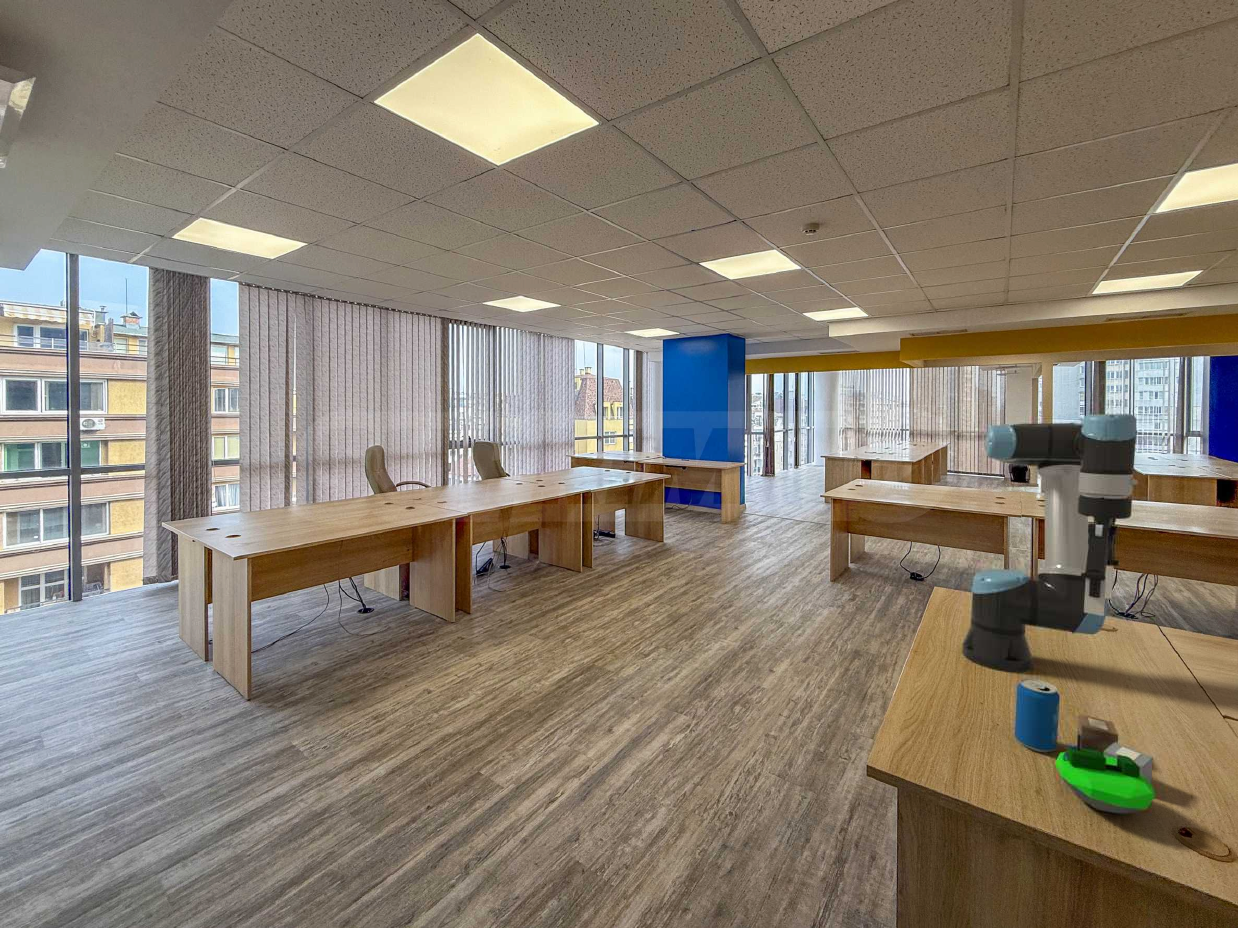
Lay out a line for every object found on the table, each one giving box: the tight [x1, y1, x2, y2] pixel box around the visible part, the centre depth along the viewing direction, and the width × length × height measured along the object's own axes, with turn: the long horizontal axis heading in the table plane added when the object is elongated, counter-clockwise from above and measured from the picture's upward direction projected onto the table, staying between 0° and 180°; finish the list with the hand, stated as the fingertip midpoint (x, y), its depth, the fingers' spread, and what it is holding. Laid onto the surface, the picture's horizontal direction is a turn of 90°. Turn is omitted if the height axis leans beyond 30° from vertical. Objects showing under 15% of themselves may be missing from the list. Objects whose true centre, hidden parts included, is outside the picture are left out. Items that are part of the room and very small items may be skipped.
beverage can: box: [1014, 677, 1061, 753], centre depth 103 cm, size 6×6×12 cm
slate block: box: [1103, 742, 1154, 785], centre depth 92 cm, size 5×5×5 cm
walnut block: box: [1076, 714, 1119, 755], centre depth 101 cm, size 5×5×5 cm
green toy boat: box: [1055, 733, 1156, 815], centre depth 87 cm, size 12×12×11 cm
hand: (1098, 605), depth 102 cm, fingers open, 13 cm apart
